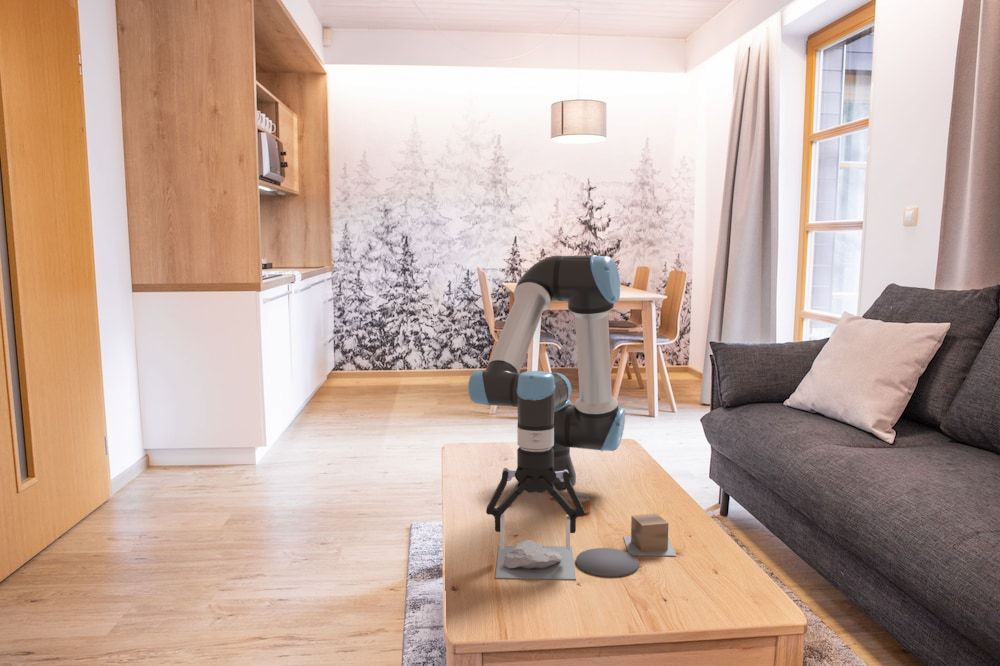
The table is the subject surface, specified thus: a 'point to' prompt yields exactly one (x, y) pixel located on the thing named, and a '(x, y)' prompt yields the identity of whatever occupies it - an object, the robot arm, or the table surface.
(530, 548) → the stone
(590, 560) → the coaster
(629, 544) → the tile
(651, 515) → the walnut block
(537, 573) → the tile
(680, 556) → the table surface
